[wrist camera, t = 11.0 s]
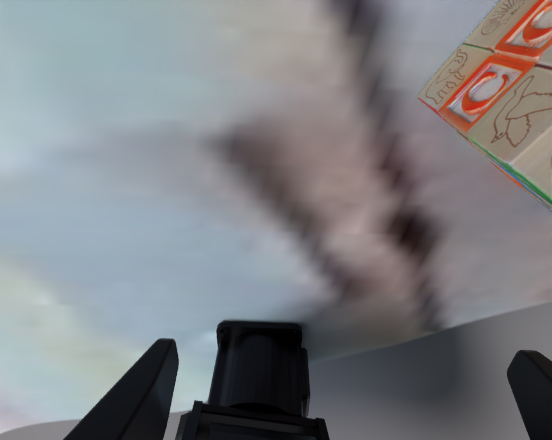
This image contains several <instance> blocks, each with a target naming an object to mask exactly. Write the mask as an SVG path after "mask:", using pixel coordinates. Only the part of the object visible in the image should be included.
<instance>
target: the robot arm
mask: <svg viewBox="0 0 552 440" xmlns="http://www.w3.org/2000/svg"><path fill="white" fill-rule="evenodd" d="M294 331H297V332H294ZM216 332H217V343H218V352H217V357H216V362H215V367H214V372H213V378H212V383H211V388H210V393H209V398H208V403H207V404H206V403H203V401H196V400H195V401H194V405H193V409H192V411H190V412H188V413H186V414H184V415H181V418H180V423H179V427H178V431H177V434H176V438H175V440H330V439H329V435H328V431H327V427H326V423H325V420H324V419H322V418H316V419H312V418H306V417H307V416H308V411H309V402H310V385H309V370H308V355H307V350H306V349H305V348H301V341H302V328H301V327H300V326H299V325H286V324H254V323H219V324H218V326H217V331H216ZM178 365H179V359H178V353H177V347H176V342H175V340H174V339H167V338H161V339H158V340H157V341H156V342H155V343H154V344H153V345H152V346H151V347H150V348H149V349H148V350H147V351H146V352H145V353H144V354H143V355H142V357H141V358H140V359H139V360H138V361H137V362H136V363H135V364H134V365H133V366H132V367H131V368H130V369H129V370H128V371H127V372H126V373H125V374H124V376H123V377H122V378H121V379H120V380H119V381H118V382H117V383H116V384H115V385H114V386H113V387H112V388H111V389H110V390H109V391H108V392H107V394H106V395H105V396H104V397H103V398H102V399H101V400H100V401H99V402H98V403H97V404H96V405H95V406H94V407H93V408H92V409H91V410H90V412H89V413H88V414H87V415H86V416H85V417H84V418H83V419H82V420H81V421H80V422H79V423H78V424H77V425H76V426H75V427H74V429H73V430H72V431H71V432H70V433H69V434H68V435H67V436H66V437H65V438H64V439H63V440H163V437H164V434H165V430H166V426H167V421H168V417H169V412H170V407H171V402H172V397H173V392H174V386H175V381H176V376H177V371H178ZM507 377H508V381H509V384H510V386H511V389H512V392H513V395H514V397H515V400H516V403H517V406H518V408H519V411H520V414H521V416H522V419H523V422H524V425H525V427H526V430H527V432H528V435H529V437H530V440H552V361H551V360H549V359H548V358H546V357H545V356H544V355H542V354H541V353H539V352H537V351H533V350H520V351H518V352H517V353H516V355H515V357H514V358H513V360H512V362H511V364H510V366H509V367H508V370H507Z"/></svg>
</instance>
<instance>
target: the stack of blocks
mask: <svg viewBox="0 0 552 440" xmlns="http://www.w3.org/2000/svg"><path fill="white" fill-rule="evenodd" d="M417 98H418V99H420V100H421V101H422V102H423V103H425V104H426V105H427V106H428V107H429V108H431V109H432V110H433V111H434V112H436V113H437V114H438V115H439V116H440V117H442V118H443V119H444V120H445V121H446V122H447V123H449V124H450V125H451V126H452V127H453V128H455V129H456V130H457V133H458V134H459V135H460V136H461V137H462V138H464V139H465V140H466V141H467V142H468V143H469V144H471V145H472V146H473V147H474V148H475V149H477V150H478V151H479V152H480V153H481V154H483V155H484V156H485V157H486V158H487V159H488V160H490V161H491V162H492V163H493V164H494V165H495V166H496V167H497V168H499V169H500V170H501V171H502V172H503V173H505V174H506V175H507V176H508V177H509V178H510V179H512V180H513V181H514V182H515V183H516V184H517V185H519V186H520V187H521V188H522V189H524V190H525V191H526V192H528V193H529V194H530V195H532V196H533V197H534V198H536V199H537V200H538V201H540V202H541V203H542V204H543V205H544V206H545V207H546V208H548V209H549V210H550V211H551V212H552V0H500V1H499V2H498V3H497V5H496V6H495V7H494V8H493V9H492V10H491V11H490V13H489V14H488V15H487V16H486V17H485V18H484V20H483V21H482V22H481V23H480V24H479V25H478V26H477V28H476V29H475V30H474V31H473V32H472V33H471V34H470V35H469V37H468V38H467V39H466V40H465V42H464V43H463V44H462V45H461V46H459V47H458V48H457V49H456V51H455V52H454V53H453V54H452V55H451V56H450V57H449V58H448V60H447V61H446V62H445V63H444V64H443V65H442V67H441V68H440V69H439V70H438V71H437V72H436V74H435V75H434V76H433V77H432V78H431V79H430V81H429V82H428V83H427V84H426V86H425V87H424V88H423V89H422V91H421V92H420V93H419V94H418V96H417Z"/></svg>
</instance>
